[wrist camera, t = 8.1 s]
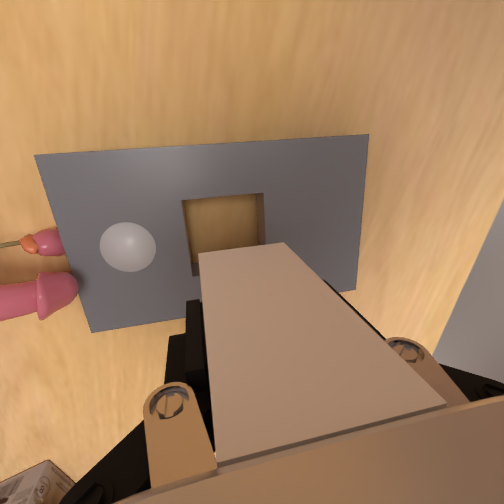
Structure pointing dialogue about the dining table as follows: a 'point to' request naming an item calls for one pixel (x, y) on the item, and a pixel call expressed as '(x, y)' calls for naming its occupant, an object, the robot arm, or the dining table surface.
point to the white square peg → (293, 358)
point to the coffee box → (36, 486)
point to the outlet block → (174, 222)
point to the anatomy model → (38, 281)
